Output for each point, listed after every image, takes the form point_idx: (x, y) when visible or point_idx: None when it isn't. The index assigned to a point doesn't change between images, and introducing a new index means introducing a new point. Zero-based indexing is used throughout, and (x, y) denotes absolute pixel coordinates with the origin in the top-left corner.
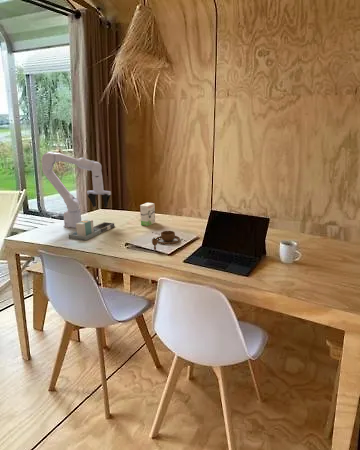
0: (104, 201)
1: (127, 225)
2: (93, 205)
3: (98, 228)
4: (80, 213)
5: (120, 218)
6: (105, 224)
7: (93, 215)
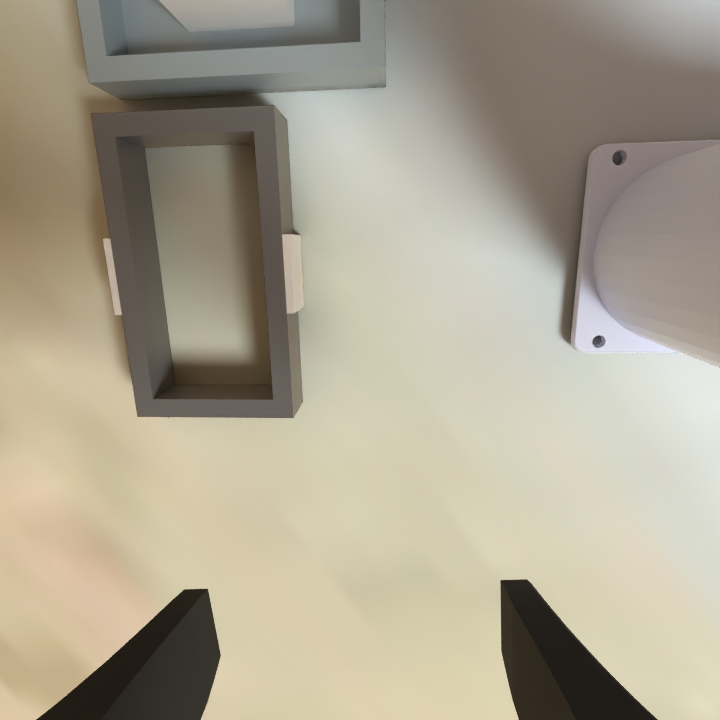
0: (69, 718)
1: (61, 483)
2: (516, 599)
3: (156, 111)
4: (708, 313)
5: (307, 679)
6: (268, 390)
7: (694, 707)
